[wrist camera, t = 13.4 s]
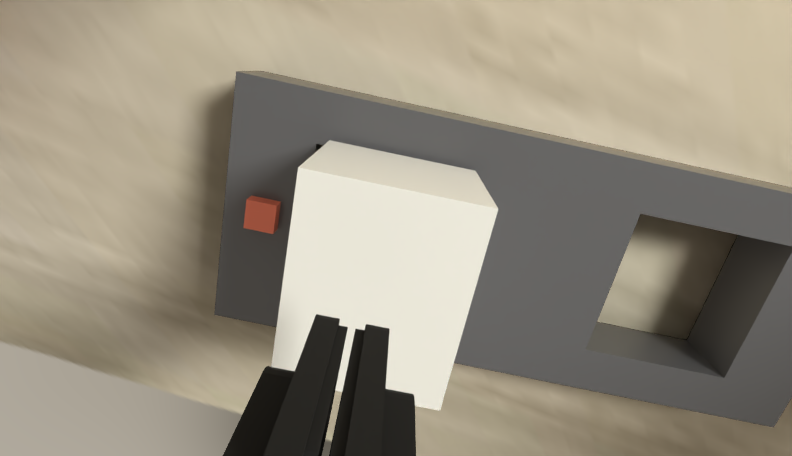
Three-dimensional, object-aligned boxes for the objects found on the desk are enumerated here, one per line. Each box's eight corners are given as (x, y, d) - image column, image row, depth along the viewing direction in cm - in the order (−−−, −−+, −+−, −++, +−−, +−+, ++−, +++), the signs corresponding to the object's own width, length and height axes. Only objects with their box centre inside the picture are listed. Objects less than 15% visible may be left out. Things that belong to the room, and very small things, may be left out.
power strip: (834, 197, 21) (916, 222, 17) (731, 385, 24) (783, 437, 21) (261, 71, 20) (230, 71, 17) (238, 284, 23) (208, 321, 20)
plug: (465, 154, 21) (498, 208, 13) (430, 291, 23) (439, 410, 15) (342, 128, 21) (298, 167, 13) (320, 269, 23) (269, 378, 15)
